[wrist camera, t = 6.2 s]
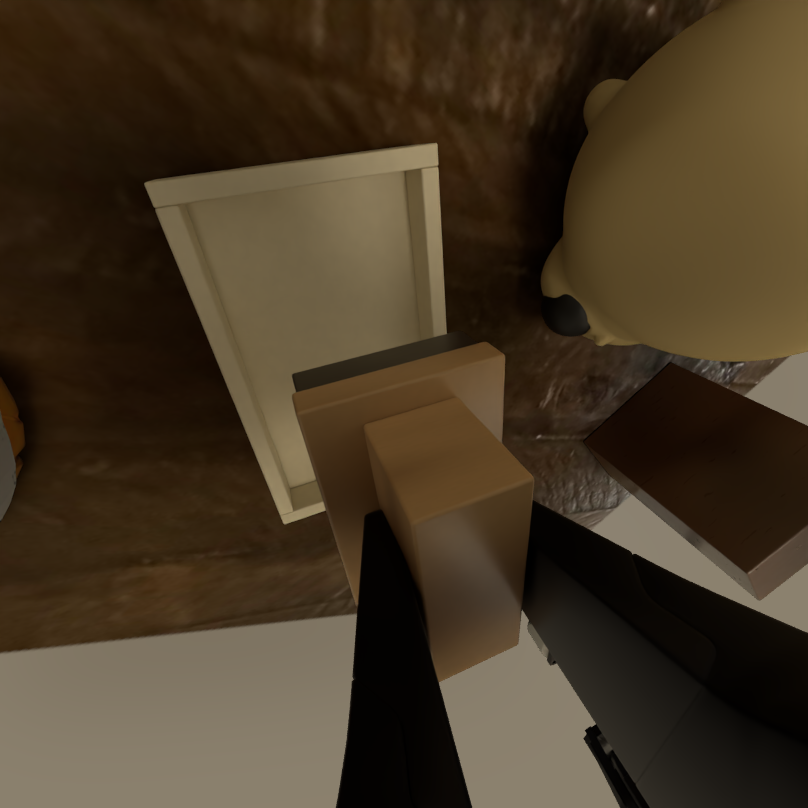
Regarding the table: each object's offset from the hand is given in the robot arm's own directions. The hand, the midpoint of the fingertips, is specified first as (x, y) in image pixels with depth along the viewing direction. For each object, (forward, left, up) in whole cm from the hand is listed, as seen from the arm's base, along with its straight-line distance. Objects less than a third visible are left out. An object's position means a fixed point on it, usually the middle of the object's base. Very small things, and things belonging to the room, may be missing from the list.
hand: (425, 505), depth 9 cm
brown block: (-10, -18, -9) cm, 23 cm away
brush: (0, 0, -2) cm, 2 cm away
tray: (0, 0, -9) cm, 9 cm away
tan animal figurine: (+4, -13, -9) cm, 16 cm away
